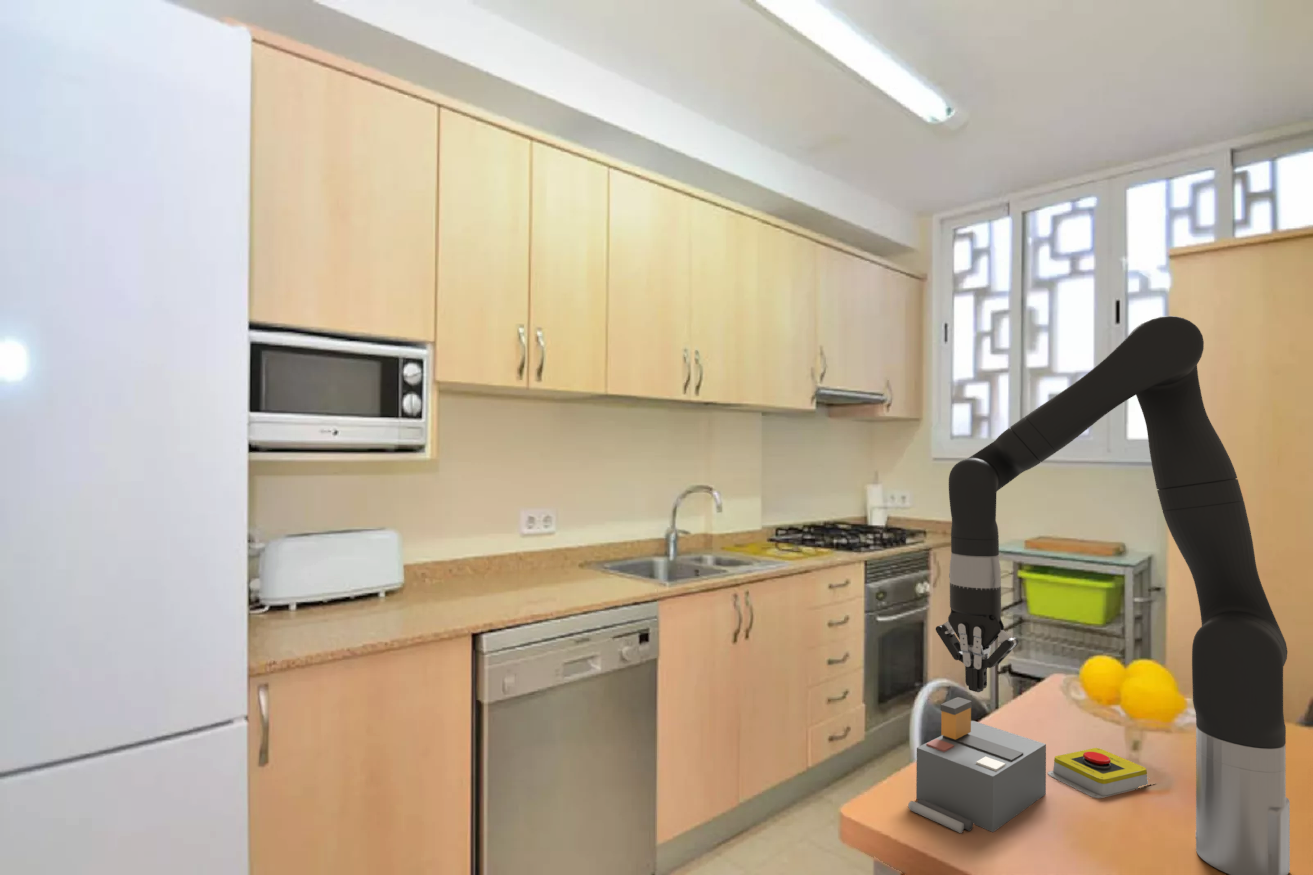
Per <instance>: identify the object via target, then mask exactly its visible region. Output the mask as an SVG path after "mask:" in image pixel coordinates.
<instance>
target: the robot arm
mask: <svg viewBox="0 0 1313 875" xmlns="http://www.w3.org/2000/svg"><path fill="white" fill-rule="evenodd" d="M1204 341H1205V340H1204V337H1203V333H1202V332H1201V330H1200V328H1199V327H1198V326H1197V325H1196V324H1195V323H1193V322H1192V321H1190V320H1188V319H1186V318H1185V317H1179V316H1176V315H1175V316H1174V315H1163V316H1157V317H1152V318H1150V319H1148V320H1145V321H1144V322H1141V323H1140V324H1138V325H1137V326H1136V327H1134V329H1132V331H1131V332H1130V333H1129V334H1128V336H1127V337H1126V338H1125V339H1124V340H1123V341H1122V342H1121V343H1120V344H1119V345H1118V346H1117V347H1116V348H1115V349H1114V350H1113V351H1112V352H1111V353H1110V354H1109V355H1107V356H1106V357H1105V358H1104V359H1103V360H1101V362H1100V363H1098V364H1097V365H1096V366H1095V367H1094V368H1092V369H1091V370H1090V371H1088V372H1087V373H1086V374H1085V375H1083V376H1082V377H1081V378H1079V379H1078V380H1077V381H1075V382H1074V383H1072V384H1071V385H1069V387H1067V388H1066V389H1064V390H1062V391H1061V392H1059V393H1058V394H1056V395H1055V396H1053V397H1052V398H1050V399H1049V400H1047V401H1046V402H1044V403H1043V404H1042V405H1039V406H1038V407H1037V408H1036V409H1034V410H1032V411H1031V412H1030V413H1027V415H1025V416H1023V417H1022V418H1021V419H1020V420H1018V421H1017V422H1015V423H1014V424H1013V425H1011V426H1010V427H1008V428H1007V429H1005V430H1004V431H1003V432H1002V433H1001V434H999V435H998V436H997V438H996V439H995V440H994V441H993V442H991V443H989V444H988V445H986V446H985V447H982V449H980V450H978V451H977V452H975V453H974V454H972V455H970V456H969V457H968V458H965V459H961V460H960V461H959V462H957V463H956V464H955V465H954V466H953V467H952V468H951V470H950V472H949V476H948V497H949V507H950V508H949V509H950V516H951V527H950V529H951V530H950V548H951V549H950V561H949V574H948V578H949V608H950V613H949V615H948V618H947V621H946V622H944V623H943V624H940V625H937V626H936V627H935V632H936V633H937V635H938V636H939V638H940V640H941V642H942V643H943V645H944V646H945V647H946V649H947V650H948V652H949V653H950V655H951V656H952V658H953V659H954V660H955V661H959V662H961V663H962V664H963V665H964V669H965V670H964V671H965V673H964V674H965V675H964V676H965V677H964V678H965V684H966V687H968V690H969V691H972V692H975V693H981V692H983V691H984V689H986V688H987V686H988V669H991V668H993V667H996V666H999V665H1000V664H1001V662H1003V660H1004V659H1005V658H1007V656H1008V655H1009V654H1010V653H1011V652H1013V650H1014V649H1015V648H1016V647H1017V646H1018V645H1019V643H1020V642H1019V639H1018V637H1011V635H1009V634H1008V633H1007V632H1006V631H1005V626H1004V622H1003V621H1002V618H1001V617H1002V616H1001V615H1002V578H1001V577H1002V576H1001V575H1002V573H1001V572H1002V571H1001V563H1000V552H999V551H1000V548H999V546H1000V542H999V540H1000V539H999V528H998V523H997V520H996V519H997V492H998V491H999V490H1001V489H1002V488H1003V487H1005V486H1006V485H1008V484H1009V483H1011V482H1012V481H1013V480H1014V479H1015V478H1017V477H1018V476H1019V475H1021V474H1022V473H1025V472H1026V471H1028V470H1031V469H1032V468H1034V467H1036V466H1038V465H1039V464H1041V463H1043V462H1044V461H1045V460H1047V459H1049V458H1050V457H1051V456H1053V455H1054V454H1056V453H1057V452H1059V451H1060V450H1062V449H1064V447H1066V446H1068V444H1070V443H1072V442H1073V441H1074V440H1075V439H1077V438H1078V437H1079V436H1080V435H1082V434H1083V433H1084V432H1086V431H1087V430H1088V429H1089V428H1091V427H1092V426H1093V425H1094V424H1096V422H1098V421H1099V420H1100V419H1102V418H1104V416H1106V415H1107V414H1108V413H1110V412H1111V411H1113V410H1114V409H1116V408H1117V407H1119V406H1120V405H1122V404H1123V403H1125V402H1127V400H1129V399H1131V398H1133V397H1134V396H1136V399H1137V401H1138V404H1139V406H1140V409H1141V412H1142V415H1143V419H1144V422H1145V426H1146V432H1147V440H1148V447H1149V454H1150V461H1151V467H1152V471H1153V476H1154V482H1155V488H1156V492H1157V495H1158V499H1159V503H1160V506H1161V511H1162V514H1163V516H1164V517H1163V518H1164V520H1165V523H1166V525H1167V529H1168V530H1169V532H1170V535H1171V537H1172V539H1173V541H1174V543H1175V544H1176V547H1177V548H1178V550H1179V552H1180V553H1181V554H1180V555H1181V556H1182V557H1183V559H1184V562H1185V563H1186V565H1187V566H1188V569H1189V571H1190V574H1191V576H1192V579H1193V583H1194V585H1195V590H1196V594H1197V600H1198V605H1199V612H1200V620H1201V621H1200V622H1201V627H1199V629H1197V631H1196V633H1195V635H1194V637H1193V642H1192V647H1191V649H1192V650H1191V677H1192V679H1191V680H1192V703H1193V709H1194V711H1195V725H1196V726H1195V739H1196V740H1195V851H1196V853H1197V855H1198V856H1199V857H1200V858H1201V859H1202V860H1203V861H1204V862H1205V863H1207V865H1210V866H1211V867H1212V868H1213V867H1214V868H1215V869H1217V870H1219V871H1221V872H1223V873H1225V874H1228V875H1289V874H1290V871H1291V870H1290V868H1291V867H1290V866H1291V864H1290V862H1291V861H1290V860H1291V856H1290V855H1291V853H1290V852H1291V850H1290V848H1291V847H1290V845H1291V842H1290V839H1291V838H1290V836H1291V835H1290V834H1291V832H1290V830H1291V829H1290V826H1291V825H1290V823H1291V822H1290V821H1291V820H1290V819H1291V818H1290V815H1291V814H1290V812H1291V811H1290V810H1291V809H1290V805H1291V804H1290V803H1291V802H1290V799H1289V798H1288V797H1287V796H1286V795H1287V794H1286V792H1287V791H1286V790H1287V788H1286V783H1287V781H1286V780H1287V779H1286V770H1287V768H1286V765H1287V764H1286V759H1287V758H1286V753H1287V752H1286V744H1287V743H1286V742H1287V738H1286V736H1287V735H1286V733H1287V732H1286V731H1287V730H1286V727H1287V726H1286V723H1285V716H1284V715H1285V714H1284V666H1285V664H1286V662H1287V659H1288V646H1287V642H1286V639H1285V637H1284V635H1283V632H1282V631H1281V628H1280V626H1279V624H1278V621H1277V619H1276V617H1275V614H1274V612H1273V609H1272V607H1271V604H1270V602H1269V600H1268V598H1267V595H1266V592H1265V590H1264V587H1263V585H1262V584H1263V583H1262V582H1261V579H1260V575H1259V571H1258V568H1257V562H1256V555H1255V550H1254V542H1253V536H1252V531H1251V527H1250V521H1249V518H1248V514H1247V509H1246V504H1245V500H1244V497H1243V493H1242V490H1241V486H1240V483H1239V479H1238V476H1237V472H1236V470H1235V467H1234V465H1233V463H1232V460H1231V457H1230V455H1228V454H1229V453H1228V451H1227V450H1226V447H1225V445H1224V444H1223V441H1222V440H1221V438H1220V436H1219V435H1218V433H1217V431H1216V430H1215V428H1214V426H1213V424H1212V423H1211V421H1210V418H1209V416H1208V414H1207V412H1206V408H1205V404H1204V400H1203V396H1202V389H1201V386H1200V380H1199V373H1198V372H1199V371H1198V364H1199V362H1200V360H1201V358H1202V356H1203V353H1204V350H1205V348H1204V346H1205V345H1204V344H1205V342H1204ZM997 639H998V641H997V646H998V647H997V648H996V649H995V650H994V651H993V652H992V654H991V655H990V652H991V650H992V649H991V648H992V645H993V644H994V643H995V642H996V640H997Z"/></svg>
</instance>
